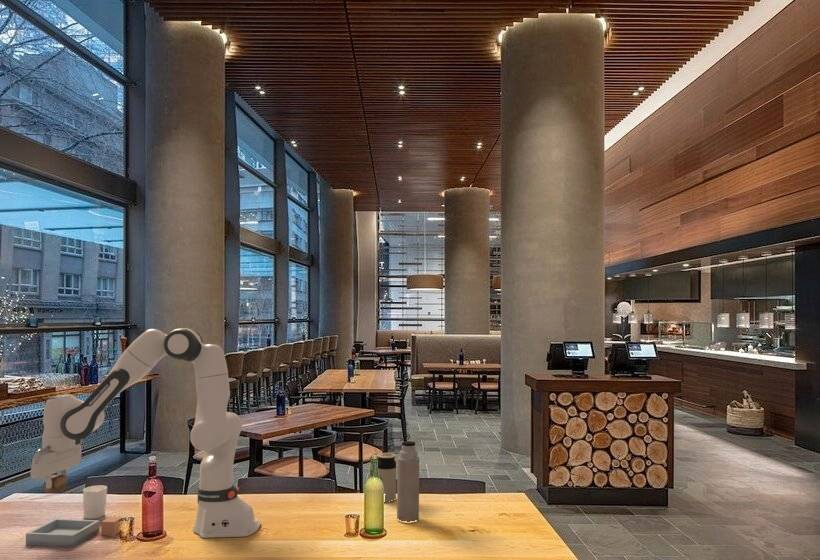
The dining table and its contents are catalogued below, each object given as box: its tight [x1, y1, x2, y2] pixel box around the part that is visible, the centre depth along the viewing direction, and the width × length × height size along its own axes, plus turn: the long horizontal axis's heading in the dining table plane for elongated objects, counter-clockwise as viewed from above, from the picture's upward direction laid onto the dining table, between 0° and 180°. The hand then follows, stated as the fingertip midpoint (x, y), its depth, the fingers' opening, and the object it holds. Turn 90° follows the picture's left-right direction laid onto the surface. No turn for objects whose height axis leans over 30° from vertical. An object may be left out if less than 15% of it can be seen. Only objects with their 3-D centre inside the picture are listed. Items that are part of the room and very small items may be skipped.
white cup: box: [82, 484, 108, 520], centre depth 219 cm, size 8×8×10 cm
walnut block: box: [44, 474, 68, 494], centre depth 199 cm, size 4×4×4 cm
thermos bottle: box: [396, 440, 420, 522], centre depth 218 cm, size 8×8×28 cm
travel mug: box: [377, 452, 397, 502], centre depth 240 cm, size 8×8×18 cm
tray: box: [25, 518, 101, 548], centre depth 198 cm, size 16×14×4 cm
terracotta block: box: [100, 516, 123, 536], centre depth 202 cm, size 4×4×4 cm
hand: (55, 485), depth 199 cm, fingers closed on walnut block, 4 cm apart
